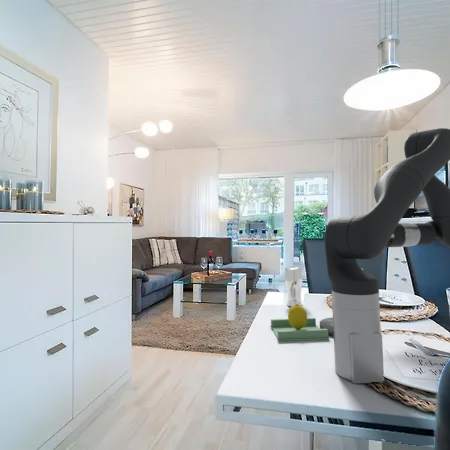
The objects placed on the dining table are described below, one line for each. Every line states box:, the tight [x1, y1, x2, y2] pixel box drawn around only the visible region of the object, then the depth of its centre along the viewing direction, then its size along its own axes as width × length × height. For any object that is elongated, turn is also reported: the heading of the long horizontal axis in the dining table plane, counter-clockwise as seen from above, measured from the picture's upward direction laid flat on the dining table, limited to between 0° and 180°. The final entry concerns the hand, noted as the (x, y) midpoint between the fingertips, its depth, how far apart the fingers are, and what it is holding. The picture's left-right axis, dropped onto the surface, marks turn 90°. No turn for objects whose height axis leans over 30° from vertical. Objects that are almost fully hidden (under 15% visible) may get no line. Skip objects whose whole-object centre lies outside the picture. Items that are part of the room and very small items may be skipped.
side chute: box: [270, 317, 330, 342], centre depth 91 cm, size 14×14×2 cm
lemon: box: [287, 304, 308, 330], centre depth 91 cm, size 6×6×8 cm
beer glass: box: [284, 267, 303, 308], centre depth 124 cm, size 7×7×15 cm
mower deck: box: [319, 317, 334, 338], centre depth 91 cm, size 14×14×2 cm
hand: (349, 236), depth 95 cm, fingers open, 8 cm apart
